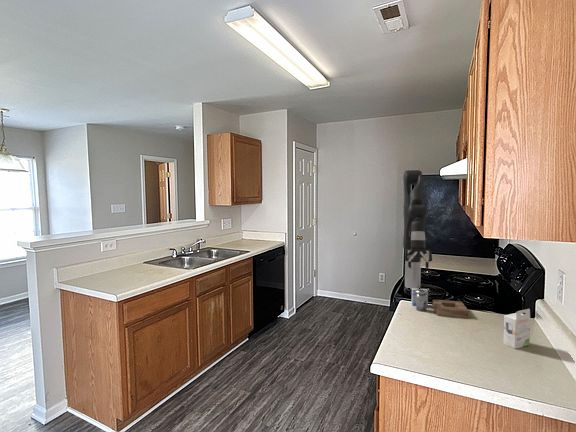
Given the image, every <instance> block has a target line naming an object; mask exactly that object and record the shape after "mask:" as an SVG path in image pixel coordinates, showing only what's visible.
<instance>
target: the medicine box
mask: <svg viewBox="0 0 576 432" xmlns="http://www.w3.org/2000/svg"><path fill="white" fill-rule="evenodd" d="M417 289H419V288H412V289H411V306H413V307H416V292H415V290H417ZM422 289H423V290H427V291H428V292H429V290H428V289H427V288H422ZM428 303H429V293H428V294H426V308H427V307H428V305H429V304H428Z"/></svg>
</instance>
